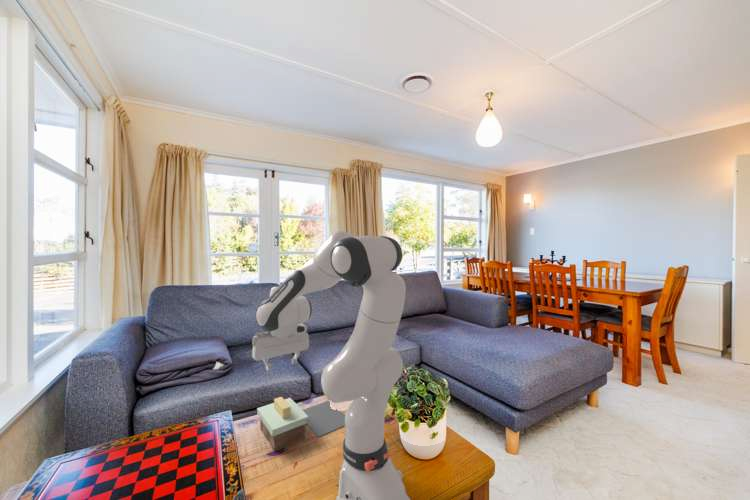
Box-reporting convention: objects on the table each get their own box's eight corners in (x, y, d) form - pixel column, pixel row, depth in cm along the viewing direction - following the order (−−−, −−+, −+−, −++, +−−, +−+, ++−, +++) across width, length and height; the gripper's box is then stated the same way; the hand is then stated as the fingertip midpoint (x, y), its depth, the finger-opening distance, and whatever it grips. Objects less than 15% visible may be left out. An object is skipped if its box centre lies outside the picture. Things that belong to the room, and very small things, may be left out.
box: (305, 438, 107) (304, 418, 106) (274, 451, 100) (274, 430, 100) (288, 419, 118) (288, 401, 118) (260, 429, 112) (260, 411, 112)
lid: (308, 422, 106) (308, 406, 106) (272, 436, 98) (272, 419, 98) (290, 403, 120) (290, 388, 120) (257, 414, 112) (257, 398, 112)
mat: (353, 422, 116) (353, 421, 116) (318, 437, 107) (318, 436, 107) (328, 401, 132) (328, 400, 132) (295, 412, 123) (295, 412, 123)
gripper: (254, 336, 100) (254, 377, 100) (311, 326, 112) (311, 362, 113) (249, 331, 105) (249, 370, 105) (303, 322, 117) (303, 357, 118)
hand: (281, 366), depth 109 cm, fingers open, 8 cm apart
